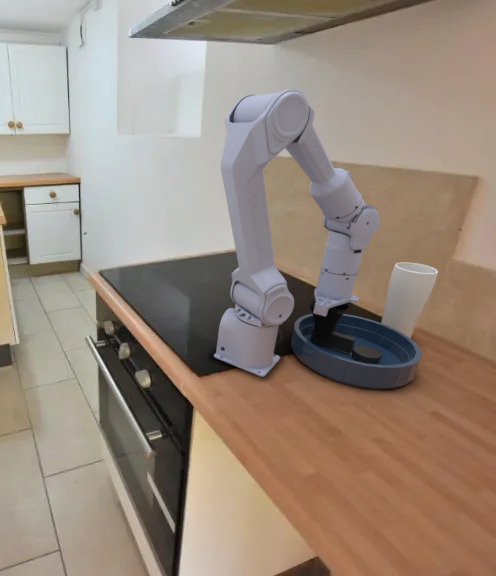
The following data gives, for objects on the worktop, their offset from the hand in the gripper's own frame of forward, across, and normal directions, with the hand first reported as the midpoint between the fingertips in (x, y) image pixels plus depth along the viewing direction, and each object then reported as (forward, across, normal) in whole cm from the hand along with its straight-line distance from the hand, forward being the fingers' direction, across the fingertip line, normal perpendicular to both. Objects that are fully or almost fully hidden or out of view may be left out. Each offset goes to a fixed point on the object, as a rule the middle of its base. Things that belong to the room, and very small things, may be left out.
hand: (322, 336), depth 73 cm
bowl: (+2, 0, -5) cm, 5 cm away
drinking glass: (+2, +14, -10) cm, 18 cm away
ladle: (+1, 0, -4) cm, 4 cm away
